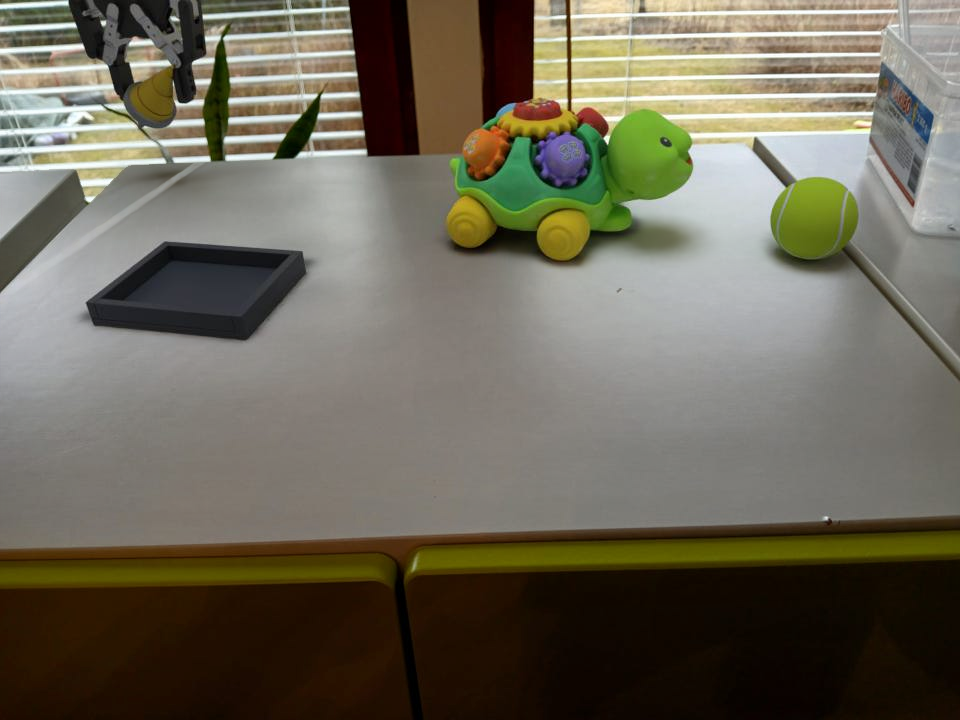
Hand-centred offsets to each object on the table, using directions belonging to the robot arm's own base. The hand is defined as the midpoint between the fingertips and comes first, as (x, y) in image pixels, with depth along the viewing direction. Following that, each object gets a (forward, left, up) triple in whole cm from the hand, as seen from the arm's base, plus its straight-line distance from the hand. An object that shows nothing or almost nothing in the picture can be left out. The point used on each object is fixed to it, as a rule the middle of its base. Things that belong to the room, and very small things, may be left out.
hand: (157, 100), depth 86 cm
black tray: (+17, -25, -9) cm, 32 cm away
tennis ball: (+67, -9, -9) cm, 69 cm away
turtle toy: (+45, -6, -9) cm, 47 cm away
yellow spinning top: (0, 0, -3) cm, 3 cm away
